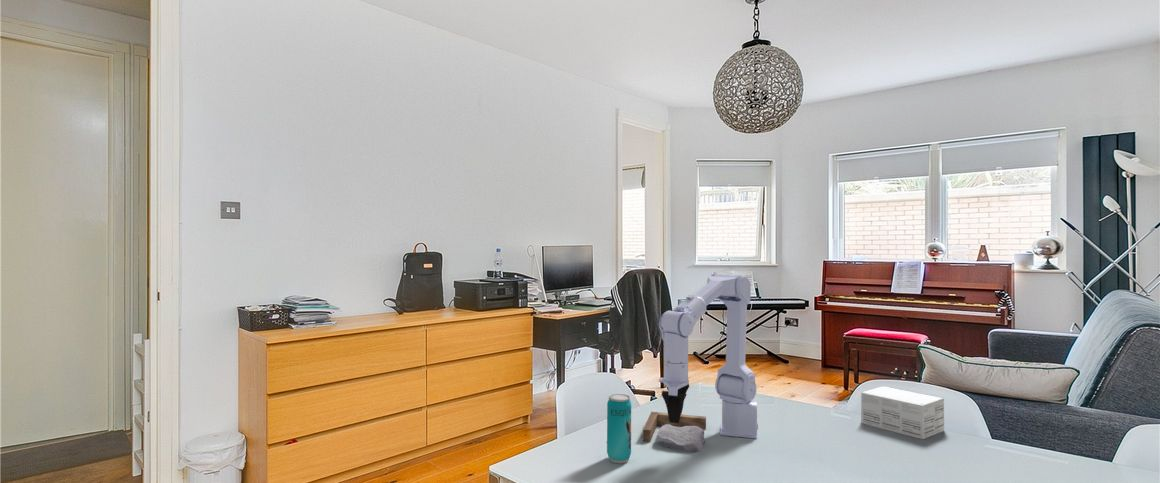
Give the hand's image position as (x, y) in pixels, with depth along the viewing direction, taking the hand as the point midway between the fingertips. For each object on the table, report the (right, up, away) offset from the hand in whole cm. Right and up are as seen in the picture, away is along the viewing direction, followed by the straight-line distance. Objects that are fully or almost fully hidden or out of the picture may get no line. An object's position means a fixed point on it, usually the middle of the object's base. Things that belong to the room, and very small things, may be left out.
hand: (675, 418), depth 130 cm
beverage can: (-14, -10, 0) cm, 17 cm away
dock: (+3, -10, +18) cm, 21 cm away
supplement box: (+69, -11, +25) cm, 75 cm away
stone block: (+3, -11, +10) cm, 15 cm away
